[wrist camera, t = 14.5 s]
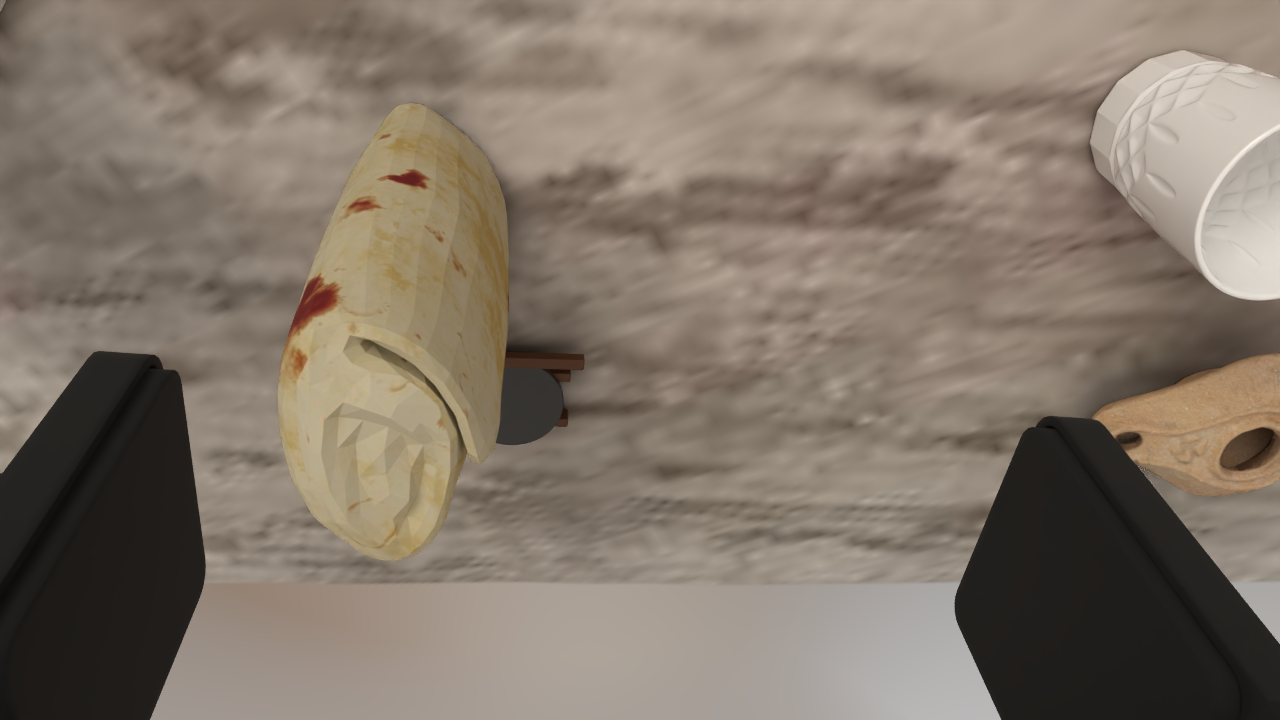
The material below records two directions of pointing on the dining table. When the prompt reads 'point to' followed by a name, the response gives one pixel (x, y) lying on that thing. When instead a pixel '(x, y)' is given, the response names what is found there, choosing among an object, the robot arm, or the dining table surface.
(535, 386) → the sunglasses
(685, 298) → the dining table surface
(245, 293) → the dining table surface
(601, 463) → the dining table surface
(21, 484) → the robot arm
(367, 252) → the food model
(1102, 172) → the white cup
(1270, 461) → the pottery oil lamp
